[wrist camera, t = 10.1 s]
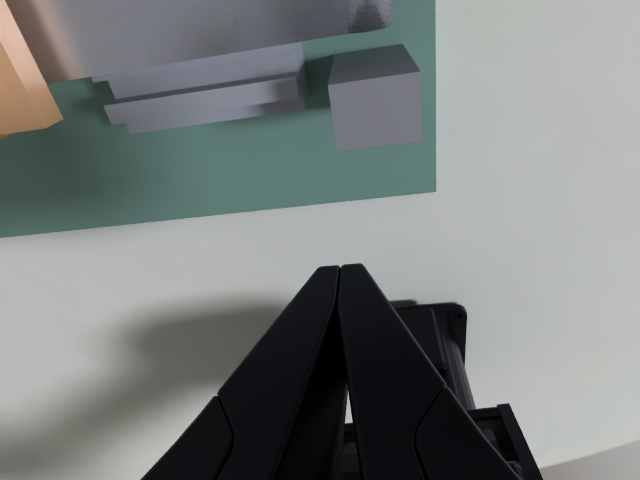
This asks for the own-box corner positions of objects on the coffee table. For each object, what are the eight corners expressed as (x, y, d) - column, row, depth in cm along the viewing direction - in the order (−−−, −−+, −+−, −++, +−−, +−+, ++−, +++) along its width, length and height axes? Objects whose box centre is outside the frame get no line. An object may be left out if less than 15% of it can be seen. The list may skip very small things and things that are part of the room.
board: (432, 182, 20) (459, 255, 15) (11, 228, 23) (-85, 301, 18) (426, -490, 10) (499, -944, 5) (-301, -247, 13) (-699, -379, 8)
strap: (389, 22, 13) (394, 27, 12) (4, 86, 14) (-26, 97, 13) (382, -102, 11) (387, -111, 10) (-51, -14, 13) (-91, -13, 11)
